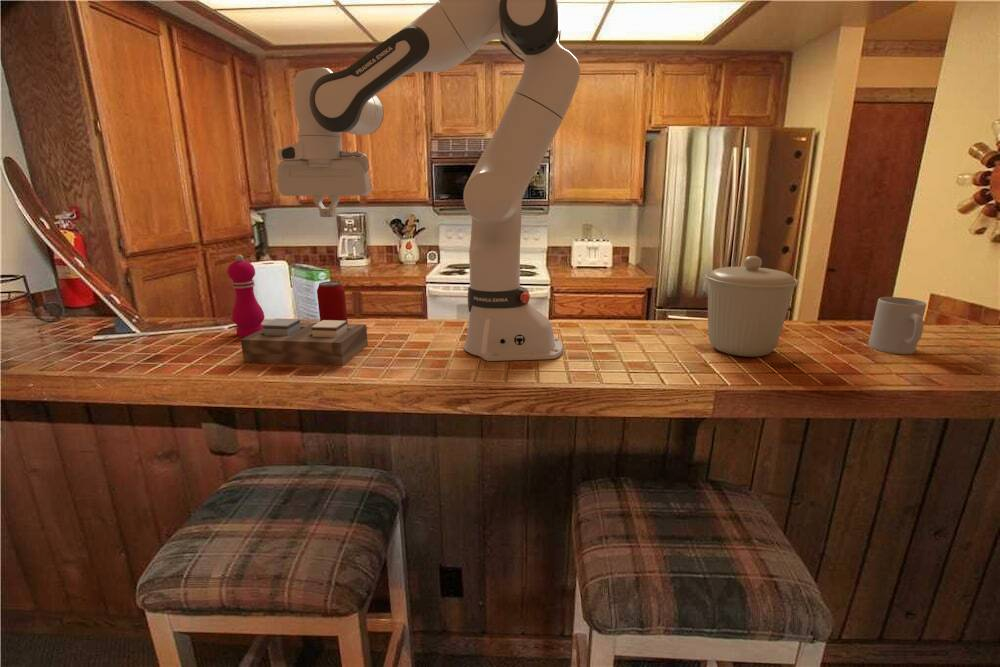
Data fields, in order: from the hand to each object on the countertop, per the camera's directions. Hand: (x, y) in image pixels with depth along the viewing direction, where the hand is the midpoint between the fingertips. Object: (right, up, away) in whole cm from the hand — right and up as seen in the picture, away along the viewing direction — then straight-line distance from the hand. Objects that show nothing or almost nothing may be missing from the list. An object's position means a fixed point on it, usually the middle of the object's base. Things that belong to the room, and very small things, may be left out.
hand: (327, 216), depth 113 cm
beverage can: (-5, -25, +19) cm, 32 cm away
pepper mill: (-24, -27, +14) cm, 39 cm away
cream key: (+1, -29, -2) cm, 29 cm away
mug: (+127, -30, -1) cm, 130 cm away
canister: (+93, -30, 0) cm, 98 cm away
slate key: (-9, -29, -1) cm, 30 cm away
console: (-4, -31, -1) cm, 31 cm away
